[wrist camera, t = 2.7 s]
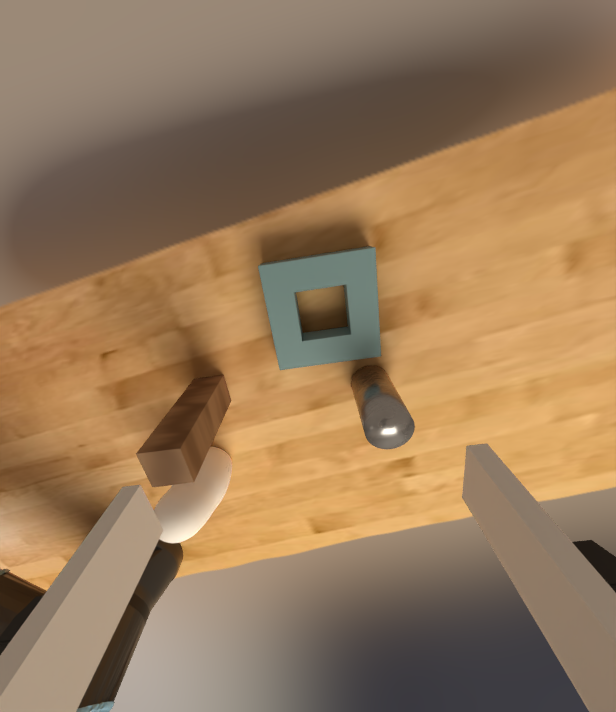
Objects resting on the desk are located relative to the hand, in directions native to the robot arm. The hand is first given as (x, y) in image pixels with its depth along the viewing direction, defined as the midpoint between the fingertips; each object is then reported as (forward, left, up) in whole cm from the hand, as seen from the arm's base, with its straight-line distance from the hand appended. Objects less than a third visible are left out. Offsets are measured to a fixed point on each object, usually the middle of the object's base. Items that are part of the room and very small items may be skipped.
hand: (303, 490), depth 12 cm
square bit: (-14, -8, -25) cm, 30 cm away
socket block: (+2, +1, -25) cm, 25 cm away
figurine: (-18, -20, -25) cm, 37 cm away
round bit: (+7, -10, -25) cm, 28 cm away
